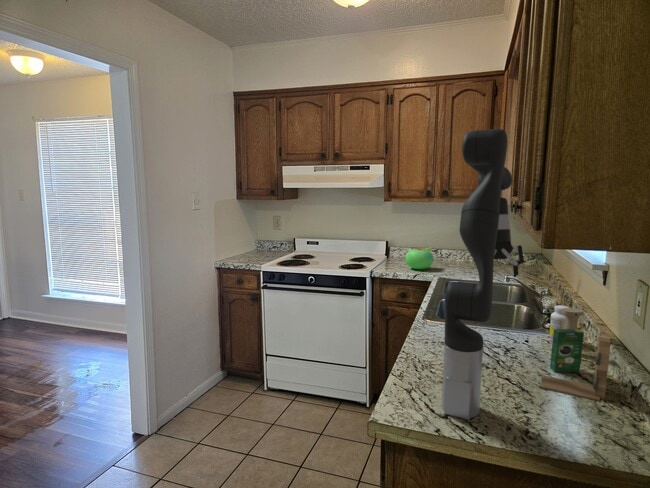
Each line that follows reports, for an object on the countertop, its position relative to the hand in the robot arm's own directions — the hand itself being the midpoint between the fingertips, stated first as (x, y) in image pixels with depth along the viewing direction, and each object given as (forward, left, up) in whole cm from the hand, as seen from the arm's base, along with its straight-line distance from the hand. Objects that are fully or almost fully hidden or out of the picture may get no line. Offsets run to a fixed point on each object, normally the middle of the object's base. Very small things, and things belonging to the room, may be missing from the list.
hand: (501, 277), depth 138 cm
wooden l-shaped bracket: (-15, -22, -26) cm, 37 cm away
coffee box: (-5, -20, -26) cm, 34 cm away
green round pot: (+117, +65, -26) cm, 136 cm away
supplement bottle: (+21, -18, -26) cm, 38 cm away
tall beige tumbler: (+11, -21, -26) cm, 36 cm away
